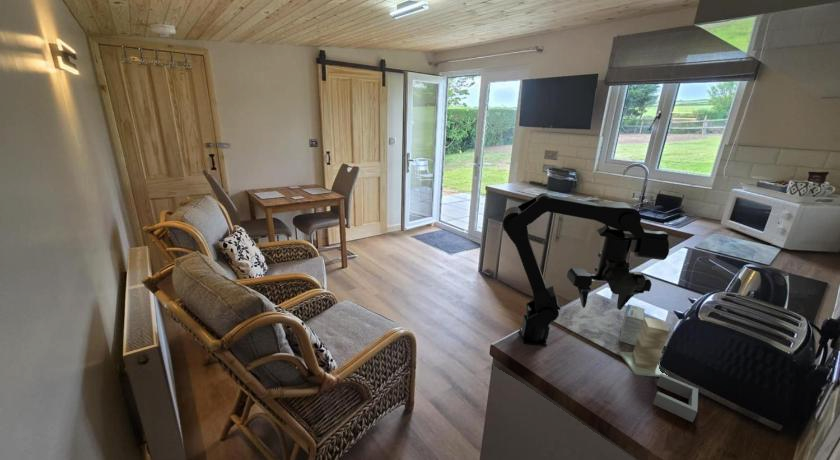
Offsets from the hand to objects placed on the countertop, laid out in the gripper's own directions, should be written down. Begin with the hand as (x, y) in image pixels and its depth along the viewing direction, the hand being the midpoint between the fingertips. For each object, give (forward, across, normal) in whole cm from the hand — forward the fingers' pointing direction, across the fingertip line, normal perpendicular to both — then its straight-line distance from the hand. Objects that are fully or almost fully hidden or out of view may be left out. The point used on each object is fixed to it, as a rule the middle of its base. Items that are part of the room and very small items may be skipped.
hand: (600, 308), depth 90 cm
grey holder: (+13, +11, -16) cm, 24 cm away
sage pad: (+13, +11, -5) cm, 18 cm away
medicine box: (+14, +14, +7) cm, 21 cm away
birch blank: (+13, +11, -5) cm, 18 cm away
